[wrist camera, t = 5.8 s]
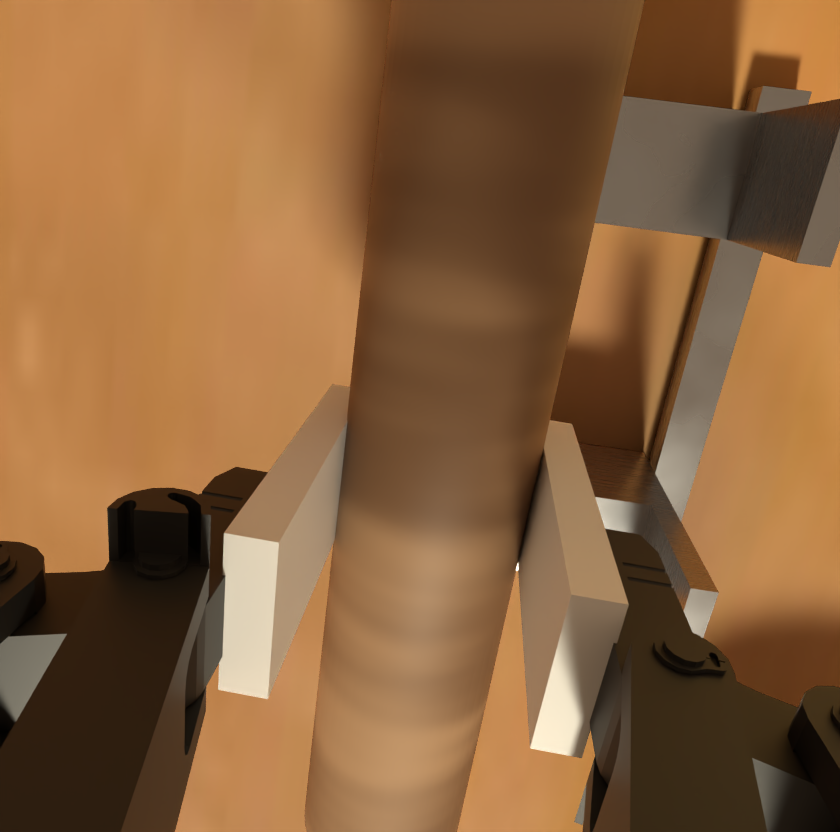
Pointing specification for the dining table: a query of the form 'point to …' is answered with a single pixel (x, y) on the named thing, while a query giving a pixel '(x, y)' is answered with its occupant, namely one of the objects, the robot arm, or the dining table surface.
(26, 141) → the dining table surface
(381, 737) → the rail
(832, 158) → the bracket
